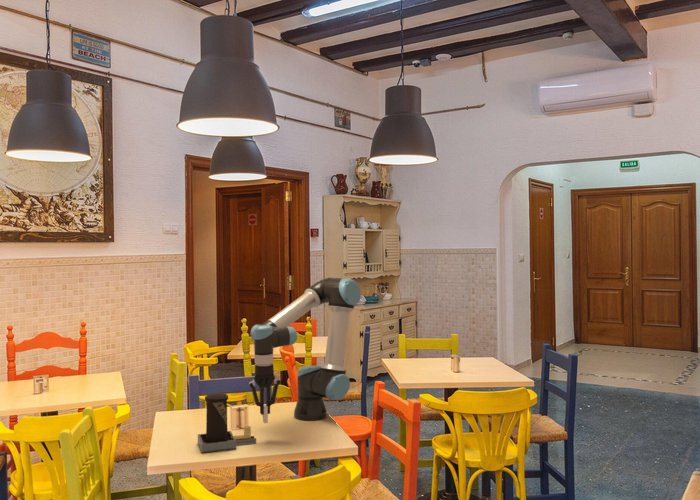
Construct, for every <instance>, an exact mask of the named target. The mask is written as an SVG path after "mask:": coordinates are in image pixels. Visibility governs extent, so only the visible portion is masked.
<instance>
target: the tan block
mask: <svg viewBox="0 0 700 500" xmlns="http://www.w3.org/2000/svg"><path fill="white" fill-rule="evenodd" d="M251 428H252V427H251V426H250V425H247V426H246V425H245V426H243V434H240V435H233V436H231V440H232V437H235V439H236V440H243V439H251V436H252V434H251V433H252V429H251Z"/></svg>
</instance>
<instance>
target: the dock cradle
mask: <svg viewBox="0 0 700 500" xmlns="http://www.w3.org/2000/svg"><path fill="white" fill-rule="evenodd" d="M227 432H228V441H220V442H211V443H206V433H201V434H200V433H199V434H197V445H198V447H199V449H200V450H199V451H200V453H201V454H209V453H216V452H217V453H218V452H225V451H233V450H237V446H236V439H235V437H232V440H231V436H234V435H233V433H232V431H231V430H227Z"/></svg>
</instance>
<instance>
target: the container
mask: <svg viewBox="0 0 700 500" xmlns="http://www.w3.org/2000/svg"><path fill="white" fill-rule="evenodd" d="M228 399H229V395H228V394H227V393H223V392H213V393H208V394H206V396H204V400H205V401H206V426H205V428H206V432H205V434H206V443H211V442H220V441H228V432H227V431H228Z"/></svg>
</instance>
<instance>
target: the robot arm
mask: <svg viewBox="0 0 700 500" xmlns="http://www.w3.org/2000/svg"><path fill="white" fill-rule="evenodd" d="M361 292H362V291H361V288H360V285H359V284H358V282H357V281H356V280H354V279H352V278H345V277H344V278H343V277H342V278H341V277H339V278H338V277H326V278H323V279H320V280H319V281H317V282H315V283H313V284H312V285H310V286H309V287H307V288H306V289H305V290H304V293H303V294H302V295H301V296H299V297H298V298H297V299H295V300H294V301H292V302H291V303H290V304H288V305H287V306H285V307H284V308H283V309H281V310H280V311H279V312H277V313H276V314H275V315H273V316H272V317H270V318H269V319H268V320H267V321H265V322H264V323H262V324H261V323H258V324H254V325H253V326H252V327H251V330H250V334H249V335H250V338H251V340H252V341H253V345H254V346H253V348H254V350H253V351H254V364H255V365H254V377H253V380H252V381H249V382H248V386H249V387H250V389H251V393H252V396H253V400H254V403H255V405H256V406H257V407H259V411H260V415H261V416H262V421H263V423H264V424H268V423H269V417H268V415H270V414H271V406H272V405H274V404H275V403H276V397H277V394H278V388H279V386H280V384H281V380H280V379H278V378H276V376H275V373H274V348H275V349H276V348H281V347H286V346H287V347H289V346H292V345H294V344H296V343H297V339H298V332H297V330H296V329H295V328H294V327H293V326H291V325H292V324H293V323H295V322H296V321H297V320H299V319H300V318H301V317H303V316H304V315H305V314H306V313H308V312H309V311H310V310H312V309H314V308H318V307H320V306H321V305H323V304H327V303H328V308H329V310H330V315H329V316H330V317H329V324H328V325H329V326H328V332H327V338H326V339H327V340H326V349H325V355H324V356H325V357H324V363H323V364H322V365H318V364H317V365H308V366H307V365H306V366H303V367H300V368H298V370H297V400H296V401H297V402H296V405H295V408H294V412H293V415H294V417H293V418H295V419H297V420H301V421H318V420H323V419H325V418H327V417H328V412H327V407H326V404H325V401H324V398H325V399H328V400H330V401H331V400H332V401H333V400H334V401H339V400H342V399H343V398H344V397H345V396H347V393H348V392H349V389H350V385H351V381H350V379H349V376H348V375H347V374H346V373H347V369H346V368H345V367H344V362H345V353H346V346H347V338H348V329H349V323H350V322H349V321H350V313H351V312H352V311H354V309H355V305H357V304H358V303H359V302H360V299H361V296H362V295H361V294H362V293H361ZM256 384H257V386H258V389H259V398H258V394H257V389H256V387H255V386H256ZM272 384H273V388H272V391H271V386H272ZM264 392H265V393H264ZM264 396H265V397H264Z"/></svg>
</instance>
